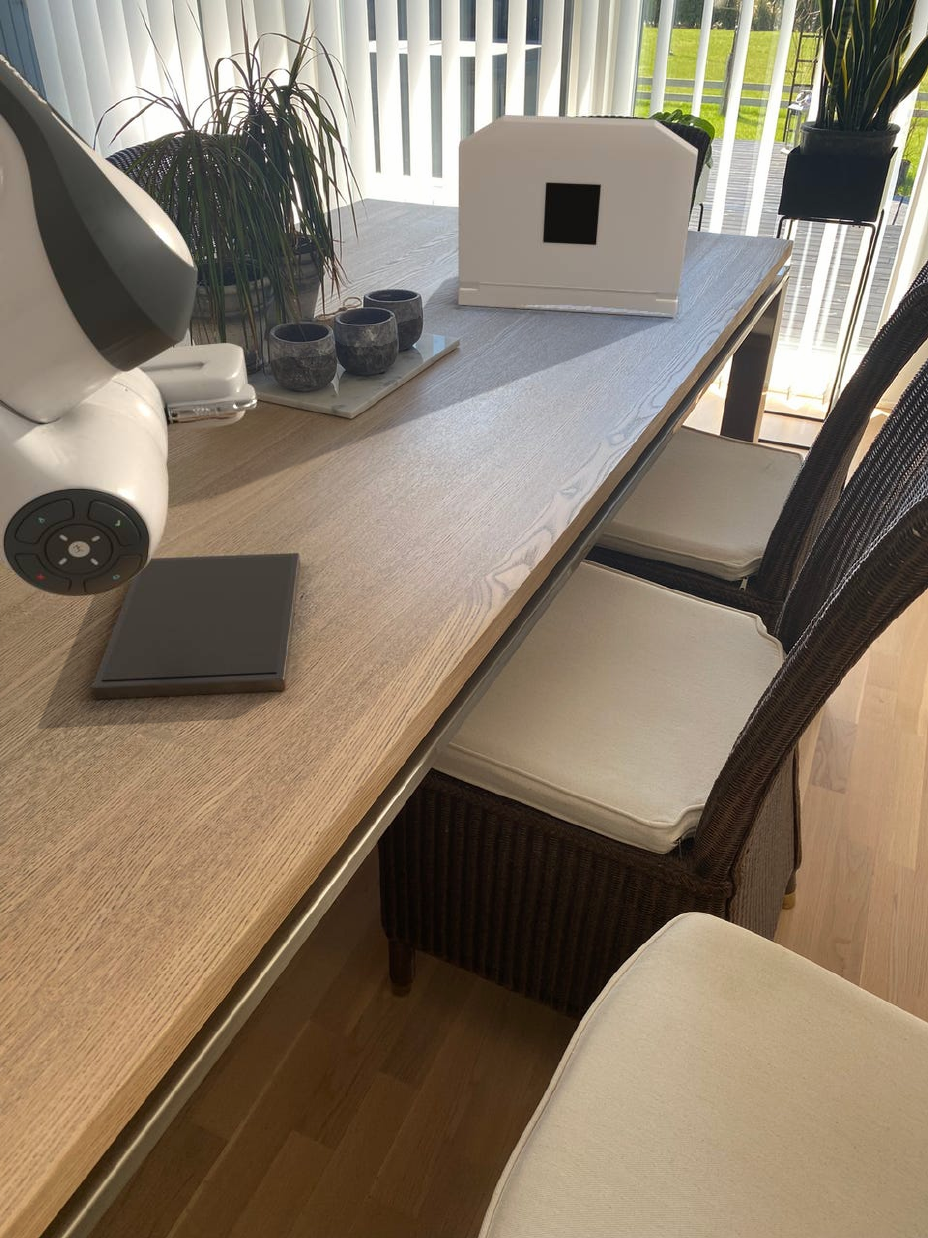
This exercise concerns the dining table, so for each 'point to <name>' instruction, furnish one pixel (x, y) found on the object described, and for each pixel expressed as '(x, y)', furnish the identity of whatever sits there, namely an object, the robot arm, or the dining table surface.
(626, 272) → the white chamfered box
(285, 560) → the tablet
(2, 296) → the robot arm
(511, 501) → the dining table surface
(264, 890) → the dining table surface
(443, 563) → the dining table surface
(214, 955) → the dining table surface
